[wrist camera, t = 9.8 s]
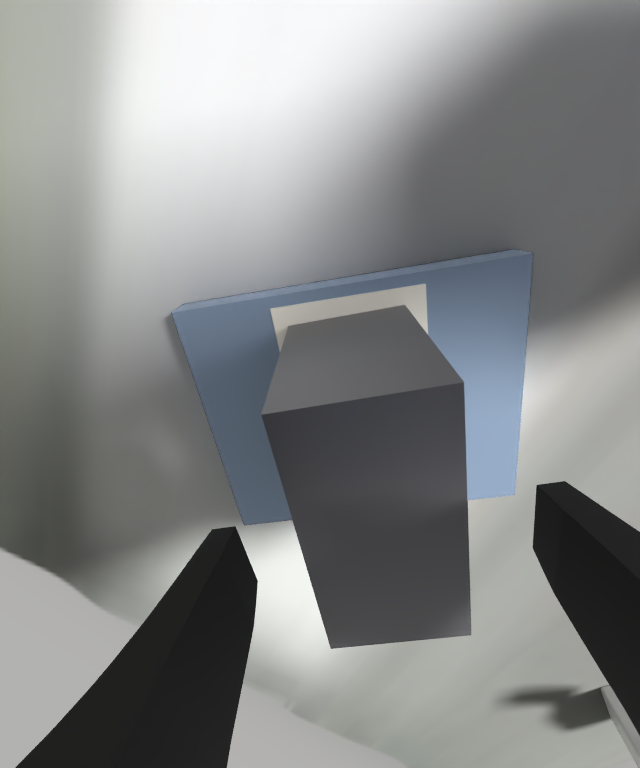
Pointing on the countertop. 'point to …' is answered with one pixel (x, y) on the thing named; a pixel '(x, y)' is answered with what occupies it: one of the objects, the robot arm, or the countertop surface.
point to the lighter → (622, 723)
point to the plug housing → (375, 475)
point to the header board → (351, 296)
